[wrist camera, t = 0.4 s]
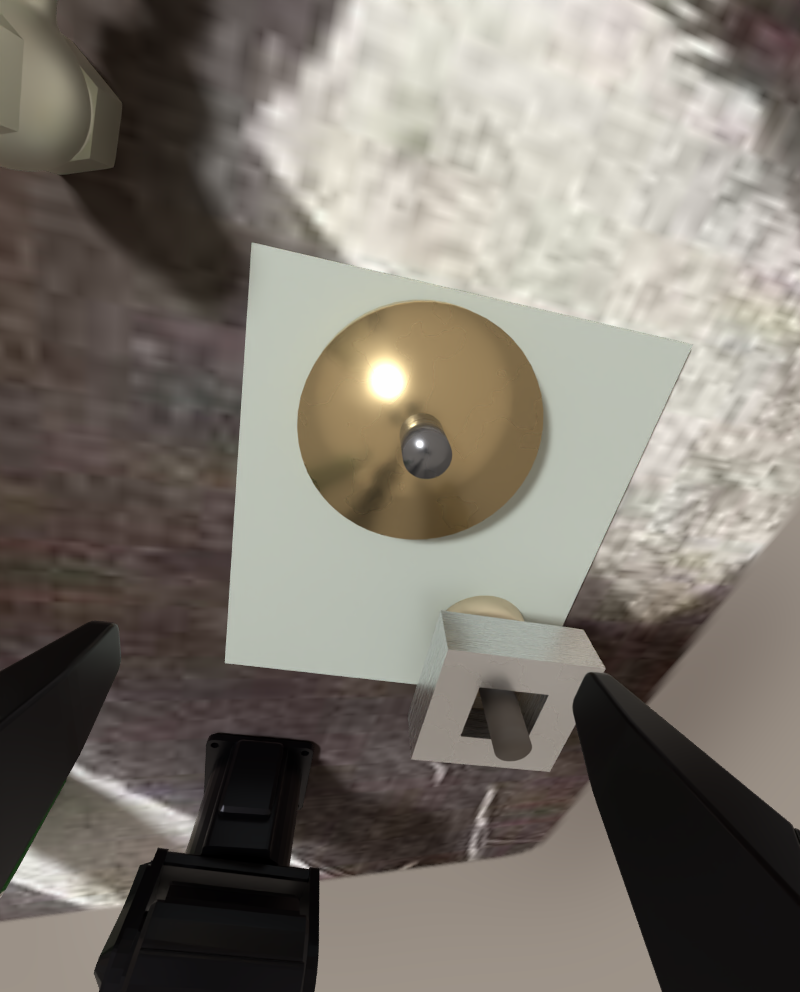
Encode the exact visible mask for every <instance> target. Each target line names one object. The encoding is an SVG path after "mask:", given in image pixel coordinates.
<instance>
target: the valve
mask: <svg viewBox="0 0 800 992" xmlns="http://www.w3.org/2000/svg"><path fill="white" fill-rule="evenodd" d="M57 1H58V0H0V167H4V168H8V169H12V170H19V171H27V172H34V171H47V172H50V173H54V174H57V175H66V174H73V173H81V172H88V171H95V170H102V169H109V168H113V167H114V164H115V160H116V152H117V145H118V138H119V130H120V123H121V116H122V102H121V101H120V100H119V98H118V97H117V96H116V94H115V93H114V92H113V91H112V90H111V88H110V87H109V86H108V85H107V83H106V82H105V81H104V80H103V78H102V77H101V76H100V75H99V73H98V72H97V71H96V70H95V69H94V67H93V66H92V65H91V64H90V62H89V61H88V60H87V59H86V57H85V56H84V55H83V54H82V52H81V51H80V50H79V49H78V48H77V46H76V45H75V44H74V43H73V42H72V41H71V40H70V39H68V38H67V37H66V36H64V35H63V34H62V33H61V32H60V30H59V28H58V26H57V21H56V14H57Z"/></svg>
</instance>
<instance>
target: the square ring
mask: <svg viewBox="0 0 800 992" xmlns="http://www.w3.org/2000/svg"><path fill="white" fill-rule="evenodd" d="M605 669H606V668H605V667H604V665H603V663H602V661H601V660H600V658H599V656H598V654H597V653H596V651H595V649H594V647H593V646H592V644H591V642H590V641H589V639H588V637H587V635H586V634H585V632H584V630H583V629H576V628H569V627H561V626H554V625H546V624H539V623H531V622H524V621H517V620H509V619H502V618H494V617H487V616H480V615H472V614H465V613H457V612H450V611H442V610H441V611H440V614H439V617H438V620H437V624H436V627H435V630H434V633H433V636H432V640H431V643H430V646H429V649H428V652H427V656H426V659H425V662H424V665H423V668H422V672H421V675H420V678H419V681H418V684H417V688H416V691H415V694H414V697H413V700H412V704H411V707H410V710H409V713H408V724H409V738H410V751H411V759H414V760H425V761H436V762H447V763H458V764H470V765H481V766H492V767H503V768H514V769H526V770H537V771H548V772H550V770H551V768H552V766H553V765H554V763H555V761H556V759H557V757H558V755H559V754H560V752H561V750H562V748H563V746H564V744H565V743H566V741H567V739H568V737H569V735H570V733H571V731H572V730H573V728H574V726H575V724H576V723H575V719H574V715H573V709H572V705H573V699H574V697H575V695H576V693H577V691H578V689H579V686H580V684H581V682H582V680H583V678H584V676H585V674H587V673H588V672H600V673H604V671H605ZM480 687H482V688H491V689H500V690H509V691H516V693H515V695H516V698H517V701H518V704H519V707H520V710H521V713H522V716H523V719H524V722H525V725H526V728H527V731H528V734H529V738H530V741H531V744H532V750H531V752H530V753H529V754H528V755H527V756H526V757H524V758H523V759H520V760H517V761H503V760H500V759H499V758H497V757H496V756H495V753H494V749H493V745H492V741H491V737H490V733H489V729H488V725H487V721H486V717H485V713H484V709H483V705H482V701H481V697H480V696H476V695H477V693H478V690H479V688H480Z"/></svg>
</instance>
